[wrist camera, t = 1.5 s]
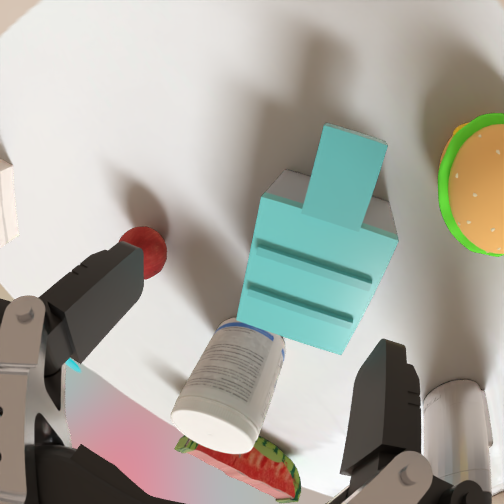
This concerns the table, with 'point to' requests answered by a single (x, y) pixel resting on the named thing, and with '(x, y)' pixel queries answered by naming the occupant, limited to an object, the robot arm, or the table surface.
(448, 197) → the hamburger
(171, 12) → the table surface
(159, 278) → the table surface
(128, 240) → the red round fruit
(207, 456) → the fruit slice
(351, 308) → the lid
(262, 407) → the supplement tub
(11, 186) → the pizza boxes
